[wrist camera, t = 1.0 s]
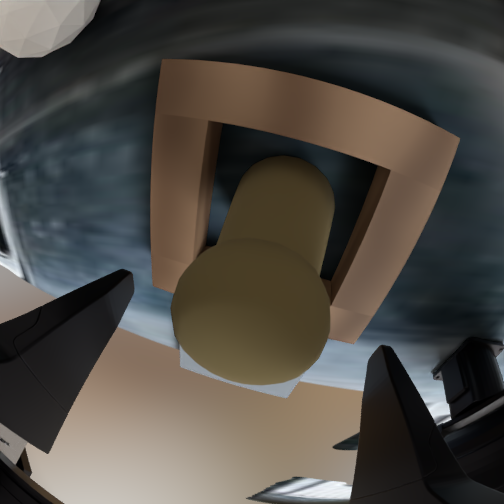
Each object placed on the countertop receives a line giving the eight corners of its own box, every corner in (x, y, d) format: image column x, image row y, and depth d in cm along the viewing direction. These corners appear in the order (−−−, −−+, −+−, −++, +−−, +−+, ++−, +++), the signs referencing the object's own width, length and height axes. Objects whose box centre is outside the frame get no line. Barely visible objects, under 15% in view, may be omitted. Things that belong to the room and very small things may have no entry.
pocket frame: (441, 130, 12) (460, 138, 10) (352, 319, 20) (353, 344, 18) (183, 61, 13) (162, 58, 11) (167, 266, 21) (153, 286, 19)
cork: (216, 192, 17) (111, 319, 8) (295, 135, 14) (251, 228, 5) (274, 261, 19) (231, 413, 10) (353, 219, 16) (377, 383, 7)
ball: (108, 30, 14) (37, 97, 12) (48, -2, 10) (-24, 58, 7) (145, -39, 8) (42, 18, 6) (69, -69, 4) (-31, -13, 1)
